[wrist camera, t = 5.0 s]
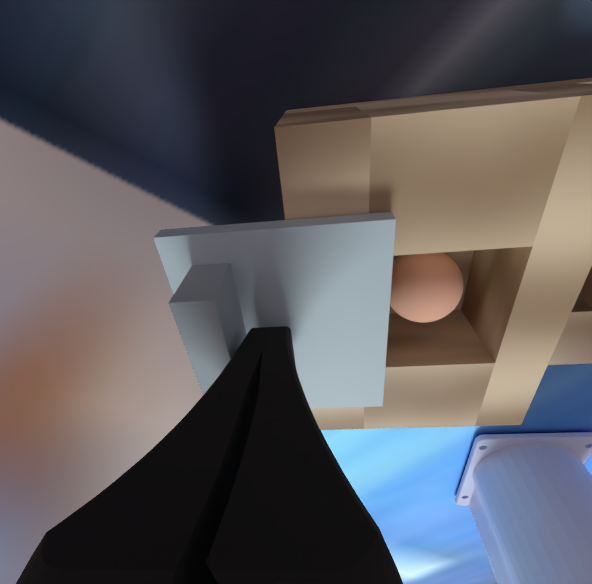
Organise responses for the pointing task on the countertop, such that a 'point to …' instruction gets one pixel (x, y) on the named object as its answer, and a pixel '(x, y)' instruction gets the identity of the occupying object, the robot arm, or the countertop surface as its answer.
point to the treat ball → (425, 286)
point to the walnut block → (587, 289)
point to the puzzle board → (462, 236)
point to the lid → (289, 297)
